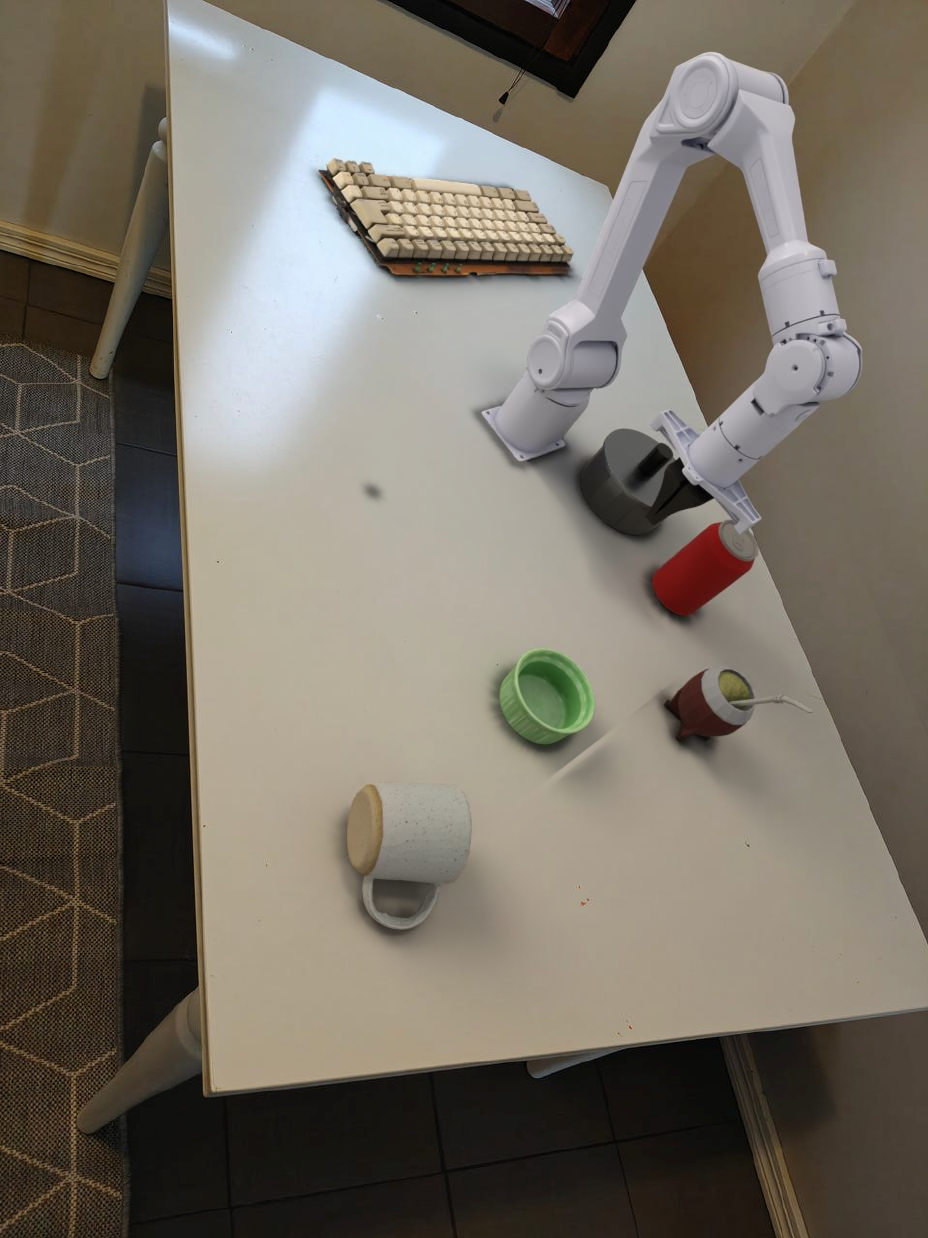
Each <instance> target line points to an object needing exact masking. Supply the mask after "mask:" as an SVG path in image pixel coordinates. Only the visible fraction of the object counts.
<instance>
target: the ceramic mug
mask: <svg viewBox="0 0 928 1238" xmlns="http://www.w3.org/2000/svg"><path fill="white" fill-rule="evenodd" d="M346 829H347V831H346V832H347V833H346V844H347V845H346V847H347V854H348V857H349V861H350V864H351V865H352V867H353V869H354V870H355V871H356V872H357V874H360V875H361V876H363V882H362V886H361V887H362V896H363V903H364V906H365V909H366V911H367V912H368V915H369V916H370V917H371V918H372V919H373V920H374V921H376V922H377V923H379V924H380V925H382V926H384V927H386V928H389V929H392V930H401V931H402V930H409V929H414V928H415V927H418V925H420V924H421V923H422V922H423V921H424V920H425V919H427V917H428V916H429V915H430V914H431V912H432V910H433V908H434V907H435V904H436V902H437V899H438V896H439V892H440V890H441V885H443V884H445V885H448V884H453V883H455V882H456V881H457V880H458V879H459V878H460V877H461V875H462V874H463V872H464V870H465V868H466V866H467V862H468V860H469V856H470V852H471V845H472V836H473V822H472V812H471V807H470V803H469V801H468V797H467V795H466V793H465V792H464V790H463V789H462V788H461V787H460V786H458V785H455V784H447V783H446V784H442V783H440V784H437V783H413V782H412V783H409V782H408V783H403V782H386V781H385V782H382V781H381V782H376V783H375V782H374V783H373V782H372V783H367V784H366V785H364V786H362V787H361V788H360V789H359V790H358V791H357V792H356V794H355V796H354V797H353V799H352V802H351V805H350V809H349V813H348V818H347V828H346ZM374 880H390V881H408V882H416V883H428V884H429V888H428V891H427V893H426V896H425V899H424V901H423V903H422V905H421V906H420V908H419V909H418V910H417V912H416V913H415V914H414V915H412V916H409V917H406V918H405V917H397V916H391V915H389V914H388V913H386V912H380V911H378V909H377V908H376V905H375V903H374V895H373V888H374V884H373V883H374Z"/></svg>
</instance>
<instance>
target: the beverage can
mask: <svg viewBox="0 0 928 1238" xmlns="http://www.w3.org/2000/svg"><path fill="white" fill-rule="evenodd" d="M734 525H735V523H734V522H733V520H732V519H726V520H724V521H719V522H718V521H717V522H714V523H711V524H709V525H708V526H707V527H705V529H703V530H702V531H700V532H699V533H698V534H697V535H696V536H695V537H694V538H692V539H691V540H690V541H689V542H688V543H686V545H684V546H683V547H682V548H681V549H679V551H677V552H676V553H675V554H674V555H673V556H672V557H670V558H669V559H668V560H667V561H666V562H664V564H662V565H661V566H660V567H659V568H658V569H657V570H656V571H655V572H654V573H653V577H652V588H653V590H654V593H655V595H656V597H657V599H658V601H659V602H660V603H661V604H662V605H663V606H664V607H665V608H666V609H667V610H669V611H671V612H673V613H674V614H677V615H679V616H690V615H693V614H694V613H695V612H697V611H698V610H699V609H701V608H702V607H703V606H705V605H706V604H708V603H709V602H710V601H712V600H713V599H714V598H715V597H717V596H718V595H720V594H721V593H722V592H724V591H725V590H727V589H728V588H729V587H730V586H731V585H733V584H734V583H736V582H737V581H738V580H739V579H741V578H742V577H743V576H744V575H746V574H747V573H748V572H750V570H751V569H752V568H753V566H754V563H755V560H756V558H757V557H758V556H759V545H758V541H757V539H756V538H755V536H754V535H753V533H752V532H751V531H750V529H748V530H747V531H745V532H744V533H742V534H739V533H738V532H737V531H736V530H735V528H734Z"/></svg>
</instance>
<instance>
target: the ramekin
mask: <svg viewBox="0 0 928 1238" xmlns="http://www.w3.org/2000/svg"><path fill="white" fill-rule="evenodd" d="M499 704H500V708H501V711H502V714H503V717H504V718H505V719H506V721H507V724H508V725H510V727H511V728H512V729H513V730H514V731H515V732H516V733H517V734H518V735H519V736H520V737H522V738H524V739H526V740H527V741H529V742H532V743H534V744H539V745H550V744H551V745H552V744H554V743H557V742H559V741H561V740H562V739H564V738H566V737H567V736H571V735H574V734H576V733H579V732H581V731H583V730H584V729H585V728H587V726H588V725H589V724H590V723H591V721H592V719H593V717H594V714H595V709H596V699H595V693H594V689H593V686H592V683H591V682H590V680H589V678H588V676H587V675H586V673H585V671H584V670H583V669H582V668H581V666H580V665H579V664H578V663H577V662H576V661H575V660H573V659H572V658H570V657H569V656H567V655H566V654H565V653H563V652H560V651H558V650H555V649H552V648H545V647H539V648H534V649H529V651H527V652H525V653H524V654H523V655H522V656H521V657H520V658H519V659H518V660H517V662H516V663H515V665H514V667H513V668H512V669H511V671H510V672H509V673H508V674H507V675H506V676H505V678H504V679H503V681H502V683H501V685H500V688H499Z"/></svg>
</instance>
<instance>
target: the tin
mask: <svg viewBox="0 0 928 1238" xmlns="http://www.w3.org/2000/svg"><path fill="white" fill-rule="evenodd" d="M602 447H603V445H602V446H601V447H600V448H599V449H598V450H597V452H596V453H594V454H593V456H592V457H591V458H590V459H589V460H588V462H587V463H586V464H585V465H584V467H583V469H582V470H581V473H580V479H579V481H580V482H579V483H580V489H581V492H582V495H583V497H584V499H585V501H586V503H587V504H588V506H589V507H590V509H591V510H592V511H593V512H594V513H595V514H596V516H597V517H599V519H601V520H602V522H604V523H605V524H607V525H608V526H610V527H611V528H613V529H614V530H616V531H619V532H620V533H623V534H626V535H630V536H641V535H646V534H647V533H649V532H650V531H652V530H653V529H655V528H656V527H657V526H659V524H660V523H661V522H659V523H657V524H656V525H654V526H653V525H652V524H651V523H650V522H649V520H648V519H647V518H646V517H645V515H646V514H647V513H648V511H649V510H650V509H647V508H645V507H643V506H642V505H640V504H638V503H637V502H635V501H634V500H632V499H631V498H630V497H629V496H628V495H626V494H625V493H624V492H623V491H622V490H621V489H620V487H619V486H618V485H617V484H616V483H615V481H614V480H613V478H612V477H611V475H610V474H609V472H608V470H607V468H606V465H605V463H604V459H603V453H602Z"/></svg>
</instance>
